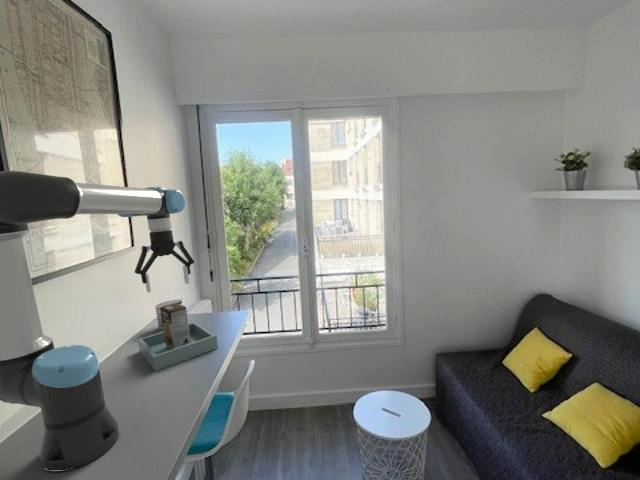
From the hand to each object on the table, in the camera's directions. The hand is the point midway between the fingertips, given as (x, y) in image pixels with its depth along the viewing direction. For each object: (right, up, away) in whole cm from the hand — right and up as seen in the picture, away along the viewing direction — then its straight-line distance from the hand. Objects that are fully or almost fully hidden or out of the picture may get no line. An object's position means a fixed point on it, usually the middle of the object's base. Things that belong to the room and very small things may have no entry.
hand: (168, 287), depth 128 cm
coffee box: (+2, -23, +3) cm, 24 cm away
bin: (+2, -24, +4) cm, 25 cm away
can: (-11, -22, +28) cm, 37 cm away
